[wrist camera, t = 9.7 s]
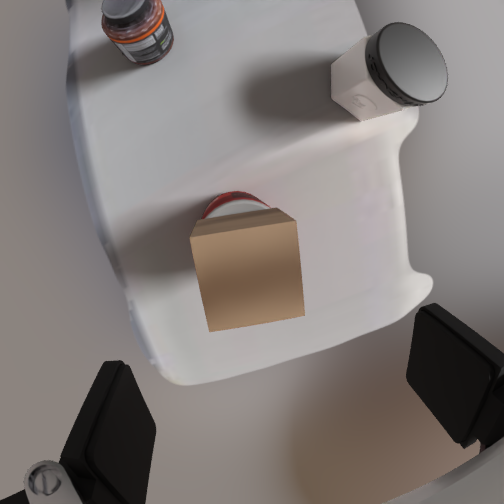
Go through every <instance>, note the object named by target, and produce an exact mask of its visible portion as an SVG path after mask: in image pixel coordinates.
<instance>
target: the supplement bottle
mask: <svg viewBox="0 0 504 504" xmlns="http://www.w3.org/2000/svg"><path fill="white" fill-rule="evenodd" d="M102 12H103V16H102V22H101V23H102V28H103V31H104V32H105V34H106V35H107V36H108V37H109V38H110V39H111V41H112V42H113V43H114V44H115V45H116V46H117V47H118V48H119V50H120V51H121V52H122V53H123V54H124V55H125V56H126V57H127V58H128V59H129V60H130V61H132V62H134V63H136V64H140V65H146V64H151V63H154V62H157V61H159V60H161V59H162V58H163V57H164V56H166V55H167V53H168V52H169V51H170V49H171V47H172V45H173V40H174V38H173V32H172V29H171V27H170V24H169V21H168V18H167V15H166V13H165V10H164V7H163V5H162V2H161V0H104V1H103V3H102Z"/></svg>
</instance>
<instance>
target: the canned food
mask: <svg viewBox="0 0 504 504" xmlns="http://www.w3.org/2000/svg"><path fill="white" fill-rule="evenodd" d="M264 209H271V208H270V207H269V206H268V205H266V204H265V203H264V202H262V201H261V200H259V199H258V198H256V197H255V196H253V195H251V194H249V193H246V192H240V191H233V192H228V193H224V194H222V195H220V196H218V197H217V198H215V199H214V200H213V201H212V202H211V203H210V204H209V205H208V207H207V208H206V210H205V212H204V214H203V216H202V219H207V218H213V217H219V216H225V215H231V214H238V213H244V212H251V211H257V210H264Z"/></svg>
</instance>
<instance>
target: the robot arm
mask: <svg viewBox="0 0 504 504" xmlns="http://www.w3.org/2000/svg"><path fill="white" fill-rule="evenodd" d="M406 378H407V382H408V383H409V385H410V386H411V387H412V388H413V390H414V391H415V392H416V393H417V395H418V396H419V397H420V398H421V400H422V401H423V402H424V403H425V405H426V406H427V407H428V408H429V409H430V411H431V412H432V413H433V415H434V416H435V417H436V419H437V420H438V421H439V422H440V424H441V425H442V426H443V427H444V429H445V430H446V431H447V433H448V434H449V435H450V437H451V438H452V439H453V441H454V442H456V443H460V444H461V446H462V447H463V448H464V449H465V448H466V447H468V446H470V445H471V444H473V443H475V442H476V440H477V439H478V440H479V441H480V452H479V454H478V455H477V456H475V457H474V458H472V459H470V460H469V461H467V462H466V463H464V464H462V465H460V466H459V467H457V468H455V469H454V470H452V471H450V472H448V473H447V474H445V475H443V476H441V477H439V478H437V479H435V480H433V481H431V482H429V483H428V484H425V485H423V486H421V487H419V488H417V489H415V490H413V491H411V492H408V493H406V494H404V495H402V496H399V497H397V498H394V499H392V500H390V501H387V502H385V503H382V504H504V353H502V352H501V351H500V350H499V349H497V348H496V347H495V346H493V345H492V344H491V343H489V342H488V341H487V340H486V339H484V338H483V337H482V336H480V335H479V334H478V333H476V332H475V331H474V330H472V329H471V328H470V327H468V326H467V325H466V324H464V323H463V322H462V321H460V320H459V319H457V318H456V317H455V316H453V315H452V314H451V313H449V312H448V311H447V310H445V309H444V308H442V307H441V306H440V305H438V304H436V303H432V304H430V305H426V306H423V307H421V308H420V309H419V311H418V313H416V316H415V322H414V329H413V337H412V343H411V349H410V355H409V362H408V367H407V372H406ZM155 436H156V425H155V422H154V420H153V418H152V416H151V414H150V411H149V409H148V407H147V405H146V403H145V401H144V399H143V396H142V394H141V392H140V389H139V387H138V385H137V383H136V380H135V378H134V375H133V373H132V371H131V368H130V366H129V365H125V364H124V362H123V361H121V360H119V361H105V362H104V363H103V365H102V366H101V368H100V370H99V372H98V374H97V376H96V379H95V380H94V382H93V384H92V387H91V389H90V391H89V393H88V395H87V397H86V399H85V401H84V403H83V406H82V408H81V410H80V412H79V414H78V416H77V419H76V421H75V423H74V425H73V428H72V430H71V432H70V434H69V437H68V439H67V441H66V444H65V446H64V449H63V451H62V453H61V458H60V461H59V463H57V462H54V461H51V460H47V461H46V460H44V461H41V462H38V463H36V464H34V465H32V467H30V469H29V470H28V471H27V473H26V475H25V478H24V488H25V489H24V490H22V491H20V492H18V493H16V494H13V495H12V496H9V497H7V498H5V499H2V500H0V504H145V502H146V494H147V487H148V480H149V473H150V467H151V460H152V453H153V448H154V442H155Z"/></svg>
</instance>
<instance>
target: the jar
mask: <svg viewBox="0 0 504 504" xmlns="http://www.w3.org/2000/svg"><path fill="white" fill-rule="evenodd" d="M447 82H448V73H447V67H446V63H445V60H444V58H443V56H442V54H441V52H440V50H439V49H438V47H437V46H436V44H435V43H434V42H433V41H432V39H430V37H429V36H428V35H426V34H425V33H424V32H423V31H421V30H420V29H418V28H416V27H414V26H412V25H410V24H406V23H401V22H395V23H390V24H388V25H386V26H385V27H383V28H382V29H380V30H379V31H378V32H376V33H375V34H374V35H371V36H367V37H364V38H362V39H361V40H360V41H359V42H357V43H356V44H355V45H354V46H352V47H351V48H350V49H349V50H348V51H346V52H345V53H344V54H343V55H342V56H340V57H339V58H338V59H337V60H336V61H334V62H333V63H332V64H331V99H332V100H334V101H335V102H336V103H338V104H339V105H340V106H342V107H343V108H344V109H346V110H347V111H348V112H350V113H351V114H352V115H354V116H355V117H356V118H357V119H359V120H360V121H365V120H368V119H372V118H376V117H379V116H383V115H387V114H391V113H394V112H398V111H402V110H405V109H407V108H410V107H412V106H421V105H422V106H423V105H426V104H430V103H432V102H434V101H437V100H438V99H439V98H441V96H442V95H443V94H444V92H445V90H446V87H447Z"/></svg>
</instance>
